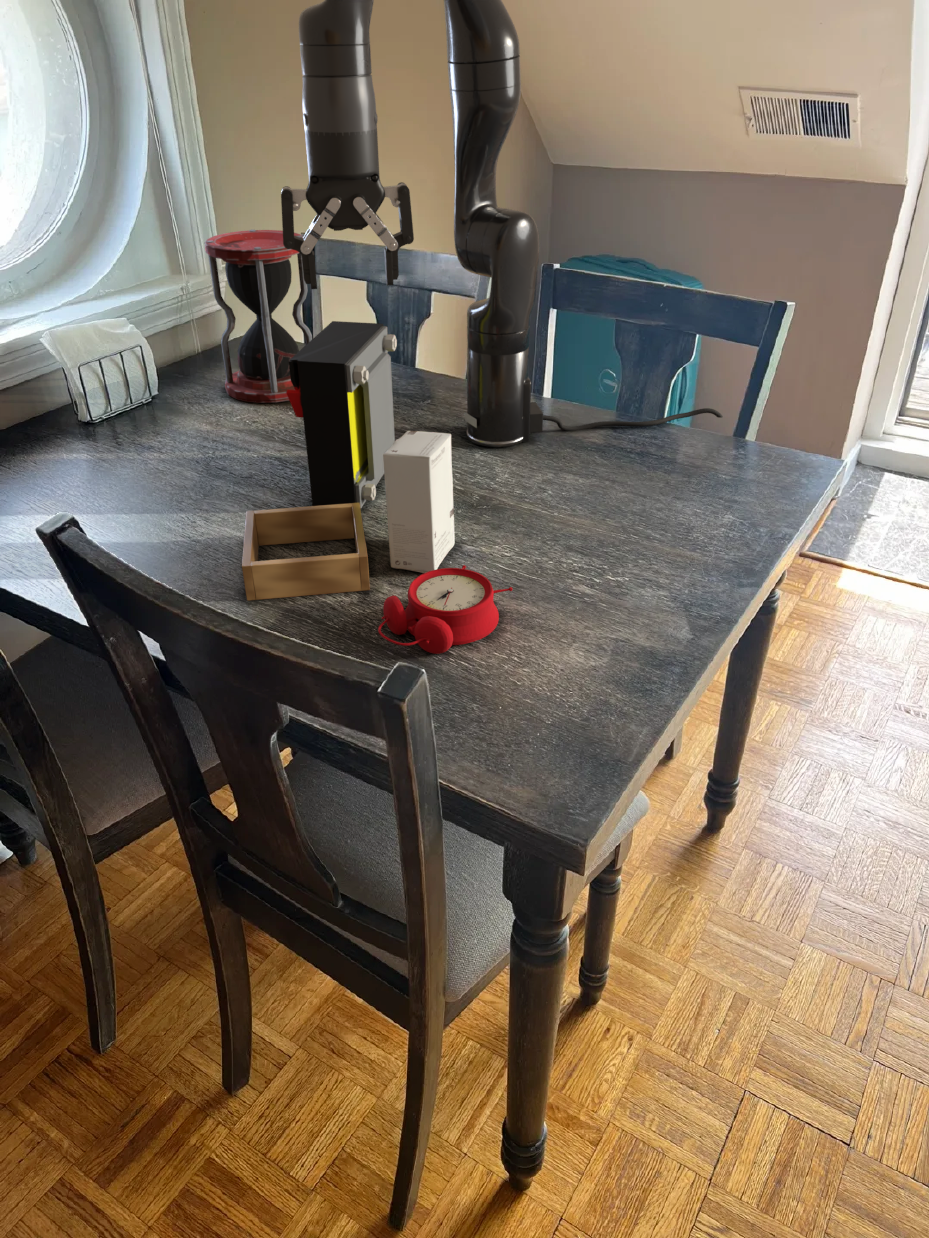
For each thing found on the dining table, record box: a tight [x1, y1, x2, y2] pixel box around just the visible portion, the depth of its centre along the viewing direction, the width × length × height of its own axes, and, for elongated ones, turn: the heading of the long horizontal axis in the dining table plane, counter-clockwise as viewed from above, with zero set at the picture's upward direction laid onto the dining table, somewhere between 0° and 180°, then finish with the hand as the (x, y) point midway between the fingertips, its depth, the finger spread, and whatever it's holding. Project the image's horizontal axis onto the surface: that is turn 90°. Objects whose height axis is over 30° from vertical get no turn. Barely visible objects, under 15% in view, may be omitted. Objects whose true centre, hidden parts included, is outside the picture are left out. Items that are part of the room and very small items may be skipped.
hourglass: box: [203, 229, 313, 404], centre depth 160 cm, size 16×16×25 cm
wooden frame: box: [241, 503, 371, 602], centre depth 113 cm, size 14×14×4 cm
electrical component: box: [286, 320, 398, 509], centre depth 128 cm, size 18×10×20 cm, turn 168°
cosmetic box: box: [383, 430, 456, 574], centre depth 112 cm, size 8×6×15 cm
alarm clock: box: [377, 564, 513, 655], centre depth 101 cm, size 10×6×15 cm
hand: (351, 286), depth 107 cm, fingers open, 8 cm apart
